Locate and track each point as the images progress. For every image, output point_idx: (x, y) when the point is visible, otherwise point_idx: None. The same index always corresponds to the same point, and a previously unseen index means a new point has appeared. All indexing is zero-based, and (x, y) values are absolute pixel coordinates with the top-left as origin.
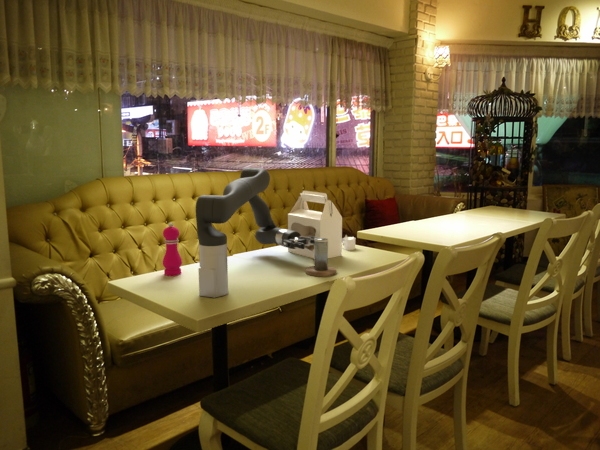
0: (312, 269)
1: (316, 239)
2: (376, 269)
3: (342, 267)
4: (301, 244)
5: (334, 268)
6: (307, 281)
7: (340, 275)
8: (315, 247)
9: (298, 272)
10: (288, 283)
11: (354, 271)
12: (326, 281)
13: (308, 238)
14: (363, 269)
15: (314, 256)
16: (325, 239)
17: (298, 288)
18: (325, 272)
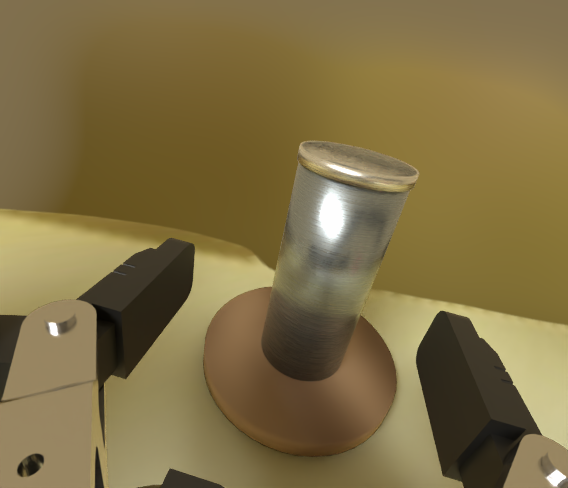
0: (344, 382)
1: (401, 169)
2: (108, 224)
3: None
4: (472, 344)
5: (235, 304)
6: None
7: None
8: (393, 231)
9: (421, 482)
10: (557, 384)
11: None
12: (379, 290)
13: (97, 419)
14: (128, 249)
15: (362, 303)
16: (339, 147)
17: (522, 323)
18: None
